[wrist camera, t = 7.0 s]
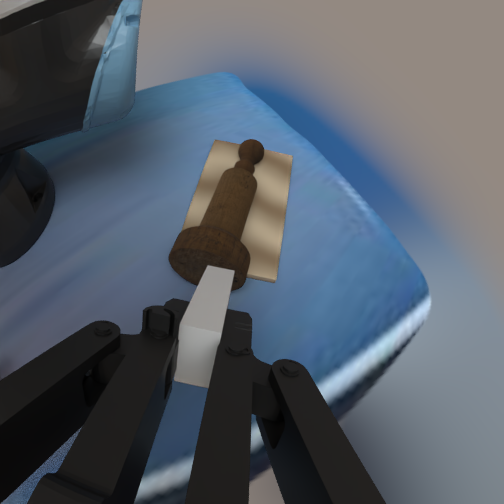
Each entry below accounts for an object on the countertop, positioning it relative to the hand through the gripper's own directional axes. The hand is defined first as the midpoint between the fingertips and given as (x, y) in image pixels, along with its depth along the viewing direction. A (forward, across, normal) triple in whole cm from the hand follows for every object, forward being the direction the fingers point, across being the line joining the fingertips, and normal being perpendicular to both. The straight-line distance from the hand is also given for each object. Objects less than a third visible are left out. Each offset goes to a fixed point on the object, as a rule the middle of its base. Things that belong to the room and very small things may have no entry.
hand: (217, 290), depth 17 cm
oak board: (+18, 0, +3) cm, 18 cm away
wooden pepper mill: (+8, -2, -2) cm, 8 cm away
